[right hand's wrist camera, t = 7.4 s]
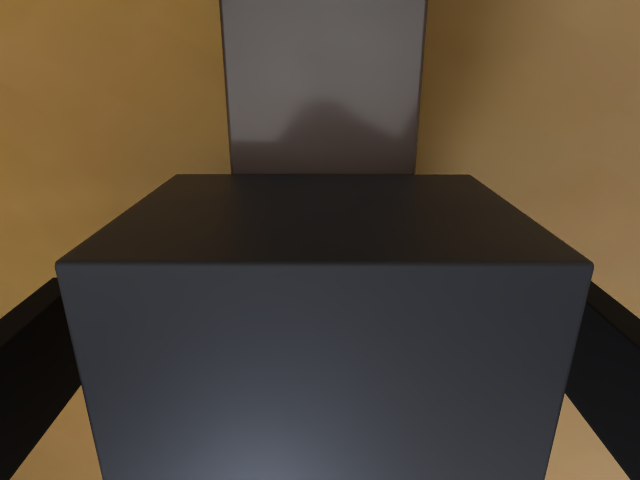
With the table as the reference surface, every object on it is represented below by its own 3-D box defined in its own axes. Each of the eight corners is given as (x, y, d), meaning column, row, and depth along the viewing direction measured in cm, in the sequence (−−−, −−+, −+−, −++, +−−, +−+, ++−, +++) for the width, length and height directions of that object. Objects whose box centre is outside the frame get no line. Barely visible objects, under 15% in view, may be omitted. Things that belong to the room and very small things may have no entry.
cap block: (175, 173, 12) (50, 261, 7) (471, 174, 12) (598, 262, 7) (202, 410, 15) (130, 613, 9) (442, 411, 15) (514, 615, 9)
